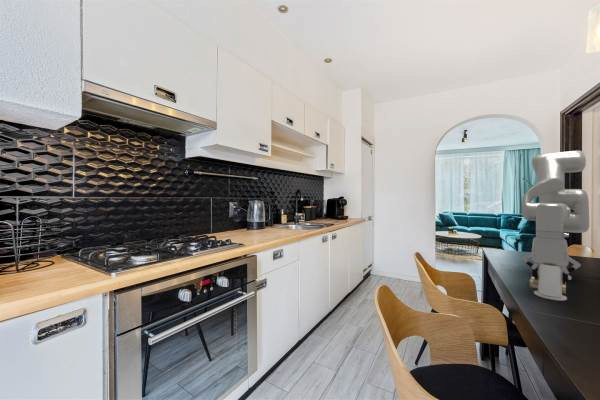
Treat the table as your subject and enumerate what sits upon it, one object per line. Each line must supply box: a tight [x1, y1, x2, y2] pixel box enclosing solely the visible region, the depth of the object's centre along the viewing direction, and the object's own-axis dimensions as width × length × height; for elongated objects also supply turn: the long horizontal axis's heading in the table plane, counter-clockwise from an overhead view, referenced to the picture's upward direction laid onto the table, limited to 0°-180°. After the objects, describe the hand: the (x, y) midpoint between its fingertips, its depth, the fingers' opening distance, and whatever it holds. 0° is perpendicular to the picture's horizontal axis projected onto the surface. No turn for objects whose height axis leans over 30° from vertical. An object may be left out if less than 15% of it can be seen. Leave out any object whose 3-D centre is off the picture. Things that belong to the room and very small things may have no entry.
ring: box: [529, 275, 567, 295], centre depth 106 cm, size 11×11×2 cm
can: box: [537, 263, 563, 297], centre depth 96 cm, size 6×6×12 cm
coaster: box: [533, 289, 568, 302], centre depth 96 cm, size 9×9×1 cm
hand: (549, 280), depth 96 cm, fingers open, 7 cm apart
